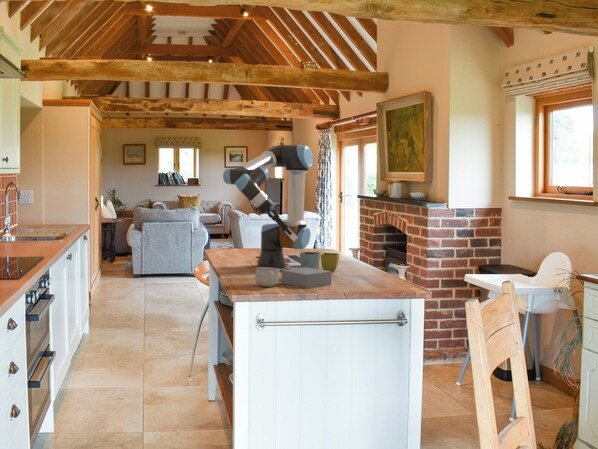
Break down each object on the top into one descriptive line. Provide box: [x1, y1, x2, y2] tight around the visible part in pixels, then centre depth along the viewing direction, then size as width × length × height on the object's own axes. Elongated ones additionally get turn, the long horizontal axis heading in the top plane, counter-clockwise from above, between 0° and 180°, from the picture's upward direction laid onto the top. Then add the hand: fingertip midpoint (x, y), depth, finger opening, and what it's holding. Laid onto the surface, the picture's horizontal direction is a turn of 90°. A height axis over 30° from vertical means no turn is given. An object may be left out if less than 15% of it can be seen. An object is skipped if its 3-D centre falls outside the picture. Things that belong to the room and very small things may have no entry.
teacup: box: [254, 266, 281, 288], centre depth 290 cm, size 14×11×8 cm
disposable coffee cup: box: [279, 219, 299, 249], centre depth 304 cm, size 10×10×12 cm
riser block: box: [281, 267, 333, 289], centre depth 299 cm, size 16×16×6 cm
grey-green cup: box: [299, 251, 322, 269], centre depth 318 cm, size 10×10×12 cm
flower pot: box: [320, 252, 340, 273], centre depth 340 cm, size 9×9×9 cm
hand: (295, 238), depth 305 cm, fingers closed on disposable coffee cup, 9 cm apart
